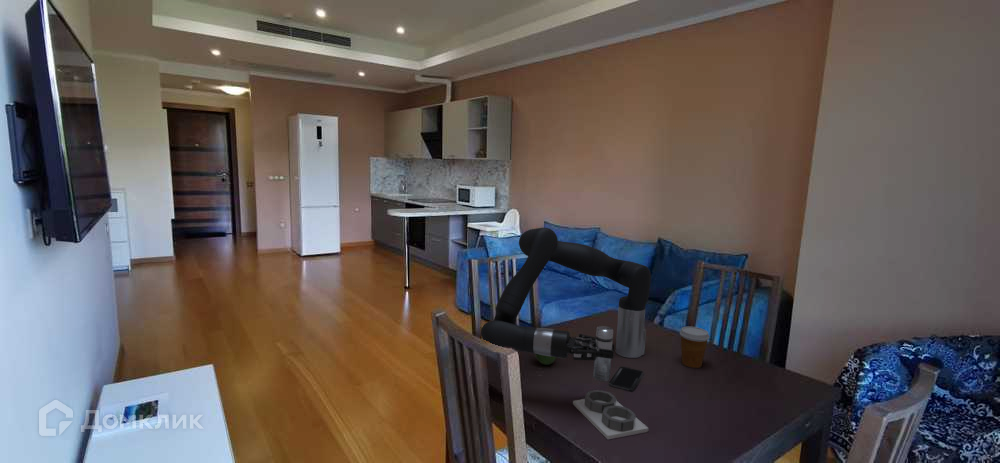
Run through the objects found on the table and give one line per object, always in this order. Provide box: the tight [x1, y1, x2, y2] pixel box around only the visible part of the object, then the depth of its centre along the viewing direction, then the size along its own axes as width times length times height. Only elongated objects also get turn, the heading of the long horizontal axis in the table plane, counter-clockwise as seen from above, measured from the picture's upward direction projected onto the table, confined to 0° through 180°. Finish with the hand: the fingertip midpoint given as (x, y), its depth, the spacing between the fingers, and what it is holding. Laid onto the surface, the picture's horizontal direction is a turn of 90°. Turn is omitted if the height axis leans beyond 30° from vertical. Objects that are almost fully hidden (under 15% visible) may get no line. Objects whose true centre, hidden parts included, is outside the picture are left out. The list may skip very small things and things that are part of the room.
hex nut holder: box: [572, 389, 649, 440], centre depth 127 cm, size 12×18×4 cm, turn 19°
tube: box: [592, 325, 614, 382], centre depth 129 cm, size 4×4×14 cm
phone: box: [608, 366, 645, 393], centre depth 150 cm, size 8×1×15 cm
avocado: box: [534, 353, 557, 366], centre depth 160 cm, size 8×8×12 cm
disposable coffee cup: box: [679, 326, 710, 369], centre depth 163 cm, size 10×10×12 cm
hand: (613, 351), depth 129 cm, fingers closed on tube, 4 cm apart
